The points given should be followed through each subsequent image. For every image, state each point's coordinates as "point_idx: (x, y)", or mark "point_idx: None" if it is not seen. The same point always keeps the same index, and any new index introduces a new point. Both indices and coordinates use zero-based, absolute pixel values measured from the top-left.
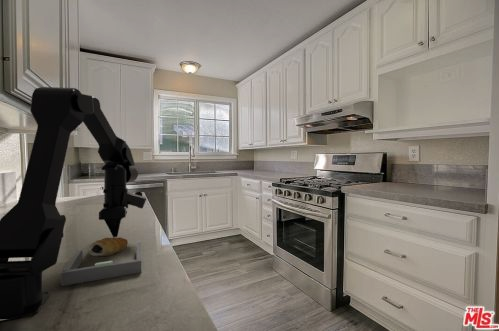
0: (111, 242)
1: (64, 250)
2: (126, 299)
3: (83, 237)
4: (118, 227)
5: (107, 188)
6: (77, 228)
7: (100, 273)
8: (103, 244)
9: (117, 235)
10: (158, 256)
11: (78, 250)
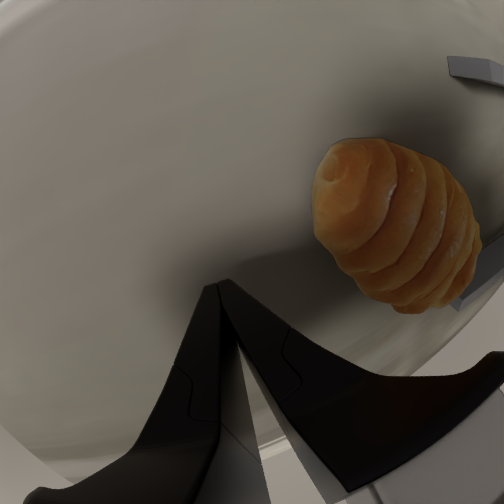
0: (471, 222)
1: None
2: None
3: (138, 421)
4: (284, 326)
5: None
6: (51, 447)
7: None
8: (480, 246)
9: (231, 282)
10: (477, 10)
11: (461, 307)
